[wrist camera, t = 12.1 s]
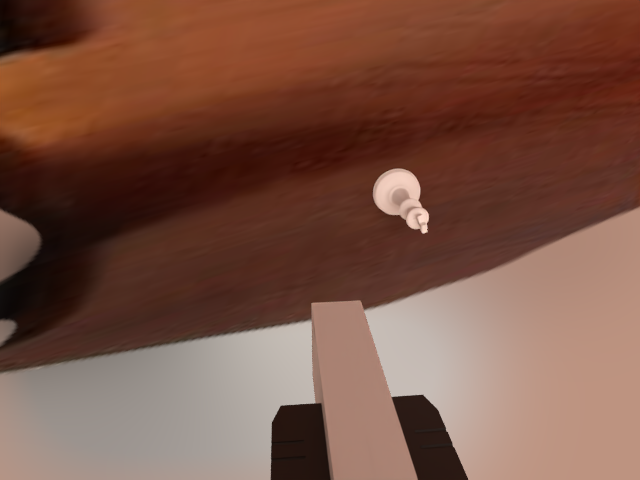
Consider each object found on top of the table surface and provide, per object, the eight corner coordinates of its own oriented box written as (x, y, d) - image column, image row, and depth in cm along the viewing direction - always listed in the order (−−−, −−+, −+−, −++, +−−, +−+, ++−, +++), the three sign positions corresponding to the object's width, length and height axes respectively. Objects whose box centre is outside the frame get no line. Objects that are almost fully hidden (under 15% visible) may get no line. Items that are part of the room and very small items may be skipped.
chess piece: (381, 220, 48) (405, 261, 39) (366, 179, 46) (388, 212, 37) (424, 203, 47) (459, 240, 38) (411, 161, 45) (445, 190, 36)
